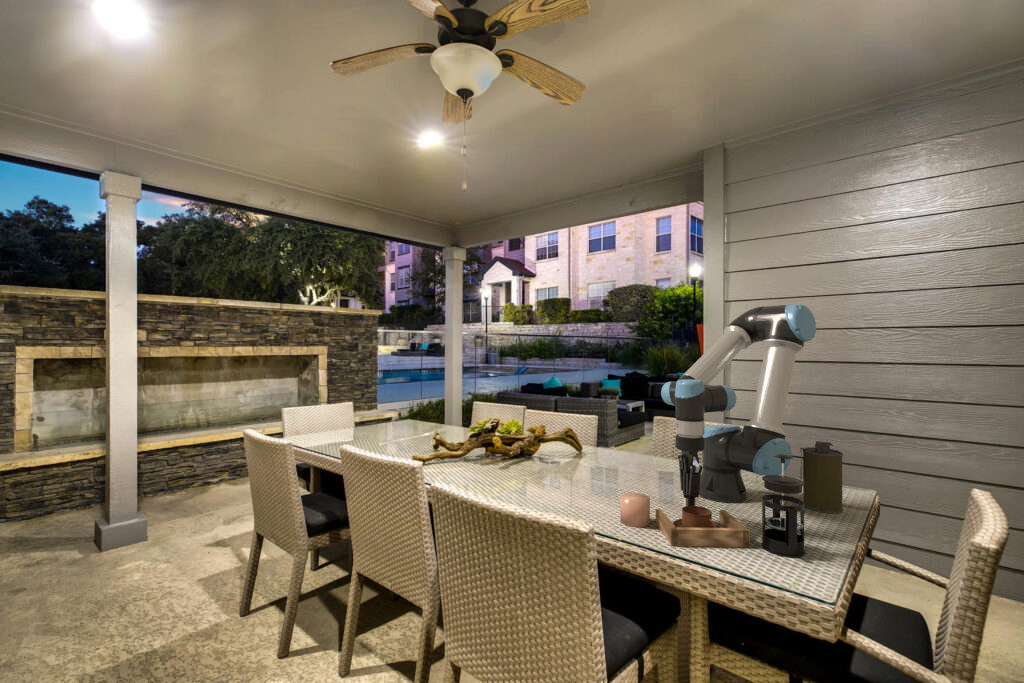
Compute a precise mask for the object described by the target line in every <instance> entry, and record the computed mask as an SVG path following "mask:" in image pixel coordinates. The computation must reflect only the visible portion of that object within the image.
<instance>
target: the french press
mask: <svg viewBox="0 0 1024 683" xmlns="http://www.w3.org/2000/svg"><path fill="white" fill-rule="evenodd" d="M773 456H774V457H776V458H781V463H782V473H781V474H780V475H767V476H765V475H762V477H761V479H762V481H764V482H763V483H764V484H763V487H764V489H766V490H769V491H770V492H775V493H777V494H773V493H772V494H765V495H763V496H761V497H762V498H761V499H762V500H761V502H762V504H761V506H762V507H761V510H762V512H761V518H762V519H761V525H762V526H761V530H762V532H761V533H762V534H761V536H762V537H761V540H762V541H761V543H760V545H761V548H762V549H763V550H764V551H766V552H768V553H770V554H772V555H776V556H779V557H784V558H792V559H795V558H796V559H797V558H798V559H799V558H802V557H804V556H806V549H805V507H804V502H803V499H799V498H796V497H793V496H789V495H799V494H801V493H802V494H803V485H804V482H803V479H802V480H801V479H799V478H796V477H792V476H787V475H786V476H785V474H784V473H785V471H784V463H785V459H790V460H791V459H793V456H792V455H791V456H789V455H785V454H775V455H773ZM778 493H779V494H778ZM785 494H786V495H785ZM770 500H771V501H772V502H770ZM785 502H789V503H792V504H796V505H785V504H784V503H785ZM766 508H769V509H772V516H768V517H767V516H766ZM798 512H799V514H800V518H799V519H800V522H799V521H798ZM784 513H785V514H784ZM784 515H785V517H784ZM766 526H767V527H768V528H766ZM798 532H800V533H798Z"/></svg>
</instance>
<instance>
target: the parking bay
mask: <svg viewBox="0 0 1024 683" xmlns="http://www.w3.org/2000/svg"><path fill="white" fill-rule="evenodd" d="M718 513H719V520H718V521H719V525H718V526H719V527H720V528H691V527H675V526H674V524H673V522H672V521H671V519H670V518H669V517H668V516H667V515H666V514H665V512H664V511H663V510H662V509H661V508H656V509H655V524H656V526H657V528H658V529H659V531H660V532H661V533H662V535H663V536H664V538H665V539H666V541H667V542H668V543H669V544H670V545H671V547H672V546H675V547H677V546H678V547H681V546H682V547H723V548H724V547H725V548H726V547H729V548H731V547H733V548H735V547H737V548H750V530H749V529H748V528H747V527H746V526H744V525H743V524H742V523H741V522H740V521H738V520H737V519H736V518H735V517H734V516H732V515H731V514H730V513H729V512H728V511H727V510H726V509H725V510H724V509H719V512H718Z"/></svg>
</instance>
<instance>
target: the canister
mask: <svg viewBox="0 0 1024 683" xmlns="http://www.w3.org/2000/svg"><path fill="white" fill-rule="evenodd" d="M832 446H834V444H833V443H831V442H830V441H829V442H828V441H820V440H818V441H817V440H816V441H815V443H814V446H813V447H811V446H810V447H800V451H802V454H803V455H802V458H803V459H802V461H803V462H802V468H800V480H802V481H803V482H804V485H803V486H802V496H803V497H802V501H803V502H804V508H806V509H809V510H811V511H813V512H814V511H815V512H818V513H825V514H841V513H843V512H844V509H843V456H844V453H843V452H842V451H839V450H837V449H832V448H831V447H832ZM802 473H803V474H802ZM802 475H803V476H802Z"/></svg>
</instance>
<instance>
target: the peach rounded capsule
mask: <svg viewBox="0 0 1024 683" xmlns="http://www.w3.org/2000/svg"><path fill="white" fill-rule="evenodd" d="M619 505H620V507H619V508H620V509H619V510H620V523H621V524H622V525H624V526H626V527H628V528H629V527H630V528H638V529H639V528H640V529H641V528H646V527H649V526H650V525H651V506H650V505H651V498H650V496H648V495H646V494H645V493H644V494H643V493H638V492H627V493H626V492H625V493H622V494H620V504H619Z"/></svg>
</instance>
